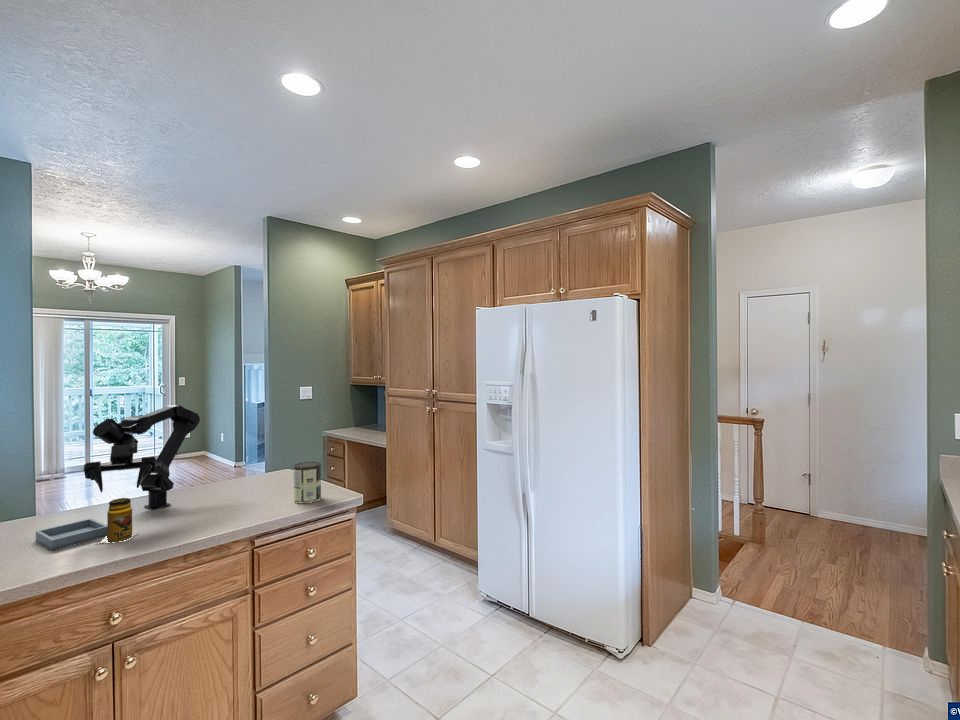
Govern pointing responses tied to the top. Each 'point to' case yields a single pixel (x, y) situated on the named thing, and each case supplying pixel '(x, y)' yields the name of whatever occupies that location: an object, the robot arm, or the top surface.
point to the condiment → (119, 520)
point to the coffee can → (307, 482)
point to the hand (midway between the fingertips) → (119, 489)
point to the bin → (71, 534)
